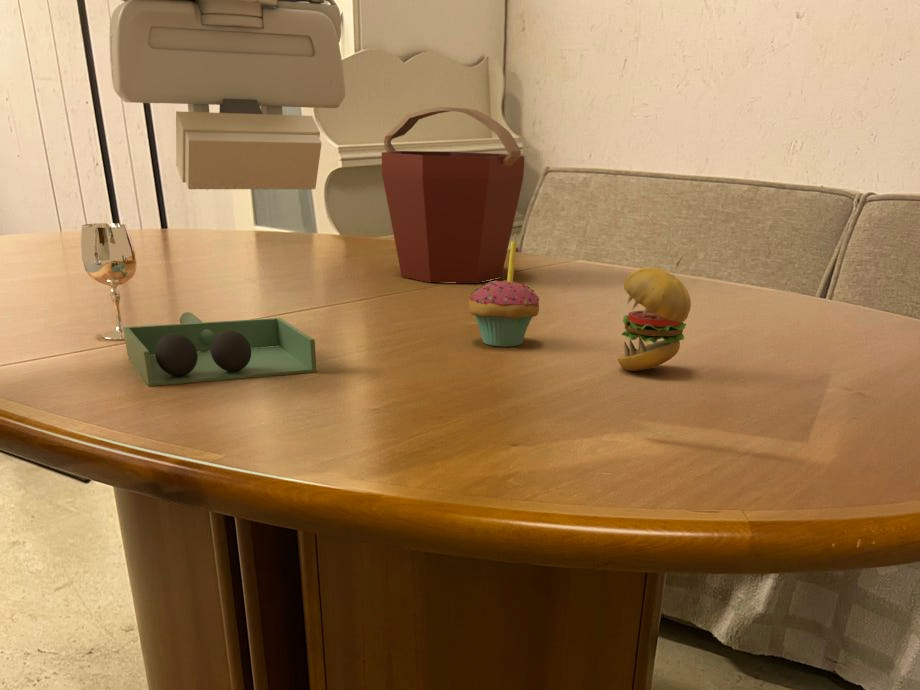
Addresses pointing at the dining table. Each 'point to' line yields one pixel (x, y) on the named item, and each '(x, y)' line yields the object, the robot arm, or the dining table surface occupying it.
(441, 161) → the bucket
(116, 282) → the wineglass
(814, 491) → the dining table surface
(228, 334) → the ball
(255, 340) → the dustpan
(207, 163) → the brush
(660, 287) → the hamburger
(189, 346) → the ball
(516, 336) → the cupcake
